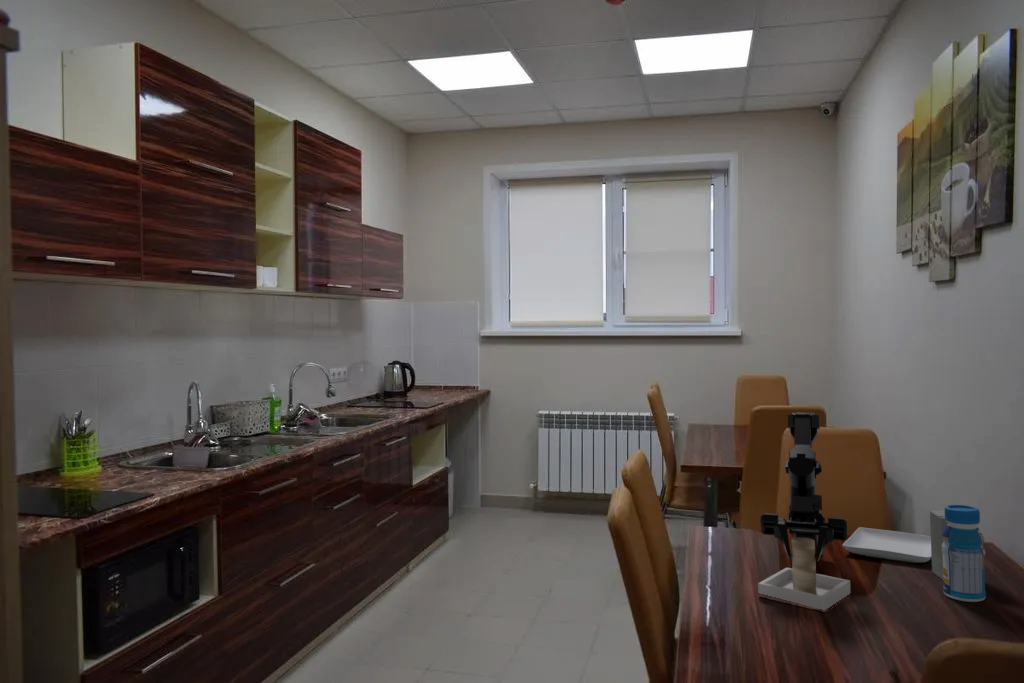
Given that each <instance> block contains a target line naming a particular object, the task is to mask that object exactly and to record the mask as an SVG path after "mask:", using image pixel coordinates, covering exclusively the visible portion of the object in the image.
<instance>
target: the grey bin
mask: <svg viewBox="0 0 1024 683" xmlns="http://www.w3.org/2000/svg"><path fill="white" fill-rule="evenodd" d="M757 584H758V585H757V588H758V589H757V590H758V592H757V593H760V594H764V595H768V596H772V597H776V598H780V599H783V600H787V601H791V602H795V603H799V604H802V605H806V606H810V607H813V608H817V609H822V610H826V609H827V608H829V607H830V606H832V605H833V604H835V603H836V602H838V601H839V600H841V599H842V598H844V597H846V596H847V595H849V594H850V593H851V580H850V579H846V578H845V579H844V578H840V577H836V576H835V577H834V576H830V575H826V574H821V573H816V591H817V594H816V595H815V594H810V593H806V592H802V591H797V590H793V571H792V568H791V567H785V568H783V569H781V570H780V571H778V572H775V573H774V574H772V575H770V576H768V577H767V578H765V579H764V580H761V581H760V582H758V583H757ZM778 585H779V586H780V587H779V586H778ZM781 586H782V587H781ZM850 595H851V594H850ZM850 595H849V596H850ZM846 598H847V597H846Z"/></svg>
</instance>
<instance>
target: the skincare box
mask: <svg viewBox="0 0 1024 683" xmlns="http://www.w3.org/2000/svg"><path fill="white" fill-rule="evenodd" d="M929 523H930V526H929V527H930V530H929V531H930V536H931V555H932V557H931V572H932V573H933V574H934V575H936V576H937V577H938V578H939V577H940V579H941V580H942V581H944V577H943V553H942V550H941V545H942V543H943V539H942V532H943V530H944V528H945V527H946V525H947V524H948V522H946V520H945V510H930V511H929ZM976 526H977V527H978V525H976Z"/></svg>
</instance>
